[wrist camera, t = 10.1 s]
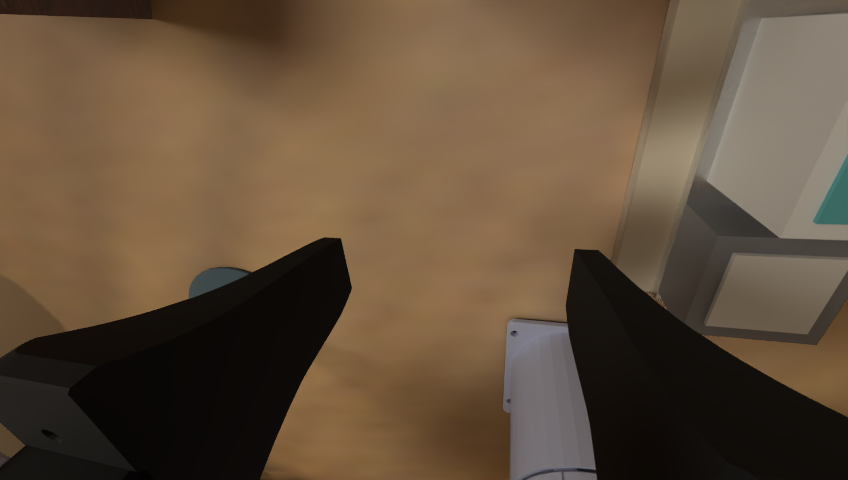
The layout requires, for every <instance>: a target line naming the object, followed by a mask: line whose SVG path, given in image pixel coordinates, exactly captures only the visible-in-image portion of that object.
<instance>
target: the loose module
mask: <svg viewBox="0 0 848 480" xmlns="http://www.w3.org/2000/svg"><path fill="white" fill-rule="evenodd" d="M707 182H709V183H710V184H711V185H712V186H714V187H715V188H716V189H718V190H719V191H720V192H721V193H723V194H724V195H725V196H727V197H728V198H729V199H730V200H732V201H733V202H734V203H736V204H737V205H738V206H739V207H741V208H742V209H743V210H745V211H746V212H747V213H748V214H750V215H751V216H752V217H754V218H755V219H756V220H757V221H759V222H760V223H761V224H763V225H764V226H765V227H766V228H768V229H769V230H770V231H772V232H773V233H774V234H775V235H777V236H778V237H779V238H791V239H821V240H848V11H839V12H828V13H816V14H805V15H793V16H781V17H770V18H762V19H761V22H760V25H759V28H758V31H757V34H756V37H755V39H754V42H753V45H752V48H751V51H750V54H749V57H748V60H747V63H746V66H745V69H744V72H743V75H742V78H741V81H740V84H739V87H738V90H737V93H736V96H735V99H734V102H733V105H732V108H731V111H730V114H729V117H728V120H727V123H726V126H725V129H724V132H723V135H722V138H721V141H720V144H719V147H718V150H717V153H716V156H715V159H714V162H713V165H712V168H711V171H710V174H709V177H708V180H707Z"/></svg>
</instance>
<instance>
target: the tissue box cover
mask: <svg viewBox="0 0 848 480" xmlns="http://www.w3.org/2000/svg"><path fill="white" fill-rule="evenodd" d="M0 14H18V15H47V16H77V17H107V18H136V19H152V13H151V4H150V0H0Z"/></svg>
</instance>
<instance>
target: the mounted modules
mask: <svg viewBox="0 0 848 480" xmlns="http://www.w3.org/2000/svg"><path fill="white" fill-rule="evenodd" d="M658 293H659V294H660V296H661V298H662V300H663V302H664V303H665V305H666V307H667V309H668V311H669V312H670V313H671V314H673V315H674V316H675V317H676V318H678V319H679V320H680V321H682V322H683V323H685V324H686V325H687V326H689V327H690V328H692V329H693V330H695V331H696V332H698V333H699V334H701V335H712V336H723V337H734V338H745V339H756V340H767V341H778V342H789V343H801V344H812V345H817V344H818V342H819V341H820V339H821V338H822V336H823V335H824V333H825V332H826V330H827V329H828V327H829V326H830V324H831V323H832V321H833V320H834V318H835V317H836V315H837V314H838V312H839V311H840V309H841V307H842V306H843V304H844V303H845V301H846V300H847V298H848V240H821V239H791V238H779V237H778V236H777V235H775V234H774V233H773V232H772V231H770V230H769V229H768V228H766V227H765V226H764V225H763V224H761V223H760V222H759V221H757V220H756V219H755V218H754V217H752V216H751V215H750V214H748V213H747V212H746V211H745V210H743V209H742V208H741V207H739V206H738V205H737V204H686V205H685V208H684V211H683V214H682V217H681V220H680V223H679V227H678V230H677V233H676V236H675V239H674V242H673V245H672V249H671V252H670V255H669V258H668V261H667V264H666V267H665V270H664V274H663V277H662V280H661V283H660V286H659V289H658Z"/></svg>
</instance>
